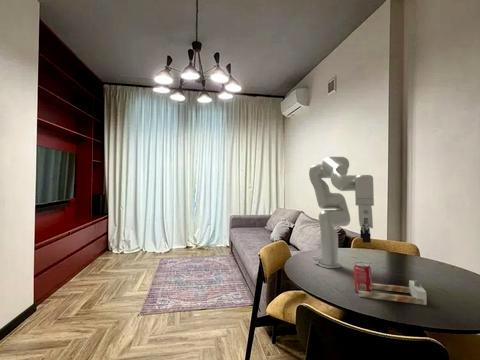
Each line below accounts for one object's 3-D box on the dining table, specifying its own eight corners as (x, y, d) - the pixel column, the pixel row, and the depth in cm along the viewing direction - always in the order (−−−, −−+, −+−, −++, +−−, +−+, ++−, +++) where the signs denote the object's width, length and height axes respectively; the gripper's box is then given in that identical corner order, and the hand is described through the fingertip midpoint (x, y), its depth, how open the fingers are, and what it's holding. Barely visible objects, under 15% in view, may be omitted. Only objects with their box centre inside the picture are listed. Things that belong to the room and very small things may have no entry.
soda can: (366, 288, 119) (366, 261, 119) (375, 294, 112) (374, 266, 112) (351, 288, 119) (350, 261, 119) (358, 295, 112) (358, 266, 112)
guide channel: (359, 296, 110) (358, 291, 110) (356, 285, 122) (356, 281, 122) (423, 304, 103) (423, 299, 103) (414, 292, 114) (414, 287, 114)
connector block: (417, 303, 104) (417, 285, 104) (409, 291, 115) (408, 275, 115) (426, 304, 103) (426, 286, 103) (417, 292, 114) (416, 276, 114)
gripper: (376, 203, 110) (377, 244, 110) (371, 201, 126) (372, 237, 126) (356, 203, 113) (357, 243, 112) (354, 201, 129) (355, 236, 128)
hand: (365, 240), depth 119 cm, fingers open, 9 cm apart
